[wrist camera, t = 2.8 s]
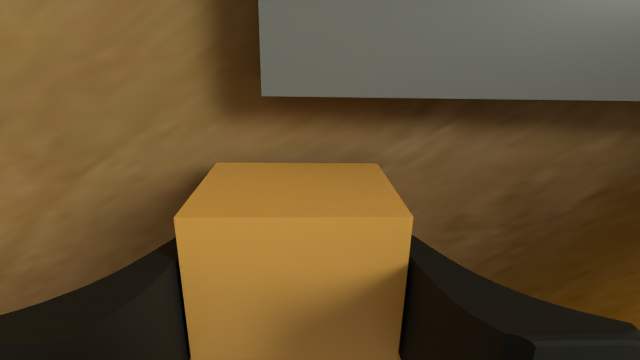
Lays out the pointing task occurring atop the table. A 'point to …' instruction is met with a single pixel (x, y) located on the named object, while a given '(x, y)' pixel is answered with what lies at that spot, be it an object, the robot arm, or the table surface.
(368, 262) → the light wooden brick
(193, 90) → the table surface
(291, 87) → the flat gray rectangular board
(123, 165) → the table surface
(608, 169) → the table surface
